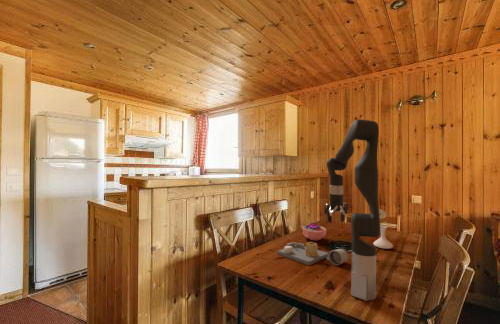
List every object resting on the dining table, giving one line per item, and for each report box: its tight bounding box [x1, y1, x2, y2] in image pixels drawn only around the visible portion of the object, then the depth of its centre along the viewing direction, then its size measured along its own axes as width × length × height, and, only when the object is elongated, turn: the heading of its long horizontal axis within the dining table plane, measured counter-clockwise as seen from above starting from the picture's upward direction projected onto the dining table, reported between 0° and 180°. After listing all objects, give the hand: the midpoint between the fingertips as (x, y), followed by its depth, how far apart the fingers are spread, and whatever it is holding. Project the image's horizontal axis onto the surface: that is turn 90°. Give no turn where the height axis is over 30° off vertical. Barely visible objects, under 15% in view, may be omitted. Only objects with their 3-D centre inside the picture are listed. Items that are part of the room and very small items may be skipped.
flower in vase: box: [372, 208, 394, 250], centre depth 162 cm, size 13×11×25 cm
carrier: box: [277, 242, 330, 266], centre depth 144 cm, size 20×22×6 cm
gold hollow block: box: [305, 241, 318, 257], centre depth 140 cm, size 7×7×6 cm
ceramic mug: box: [326, 248, 349, 266], centre depth 134 cm, size 11×8×8 cm
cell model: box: [302, 222, 327, 241], centre depth 177 cm, size 17×20×11 cm
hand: (336, 221), depth 138 cm, fingers open, 8 cm apart
